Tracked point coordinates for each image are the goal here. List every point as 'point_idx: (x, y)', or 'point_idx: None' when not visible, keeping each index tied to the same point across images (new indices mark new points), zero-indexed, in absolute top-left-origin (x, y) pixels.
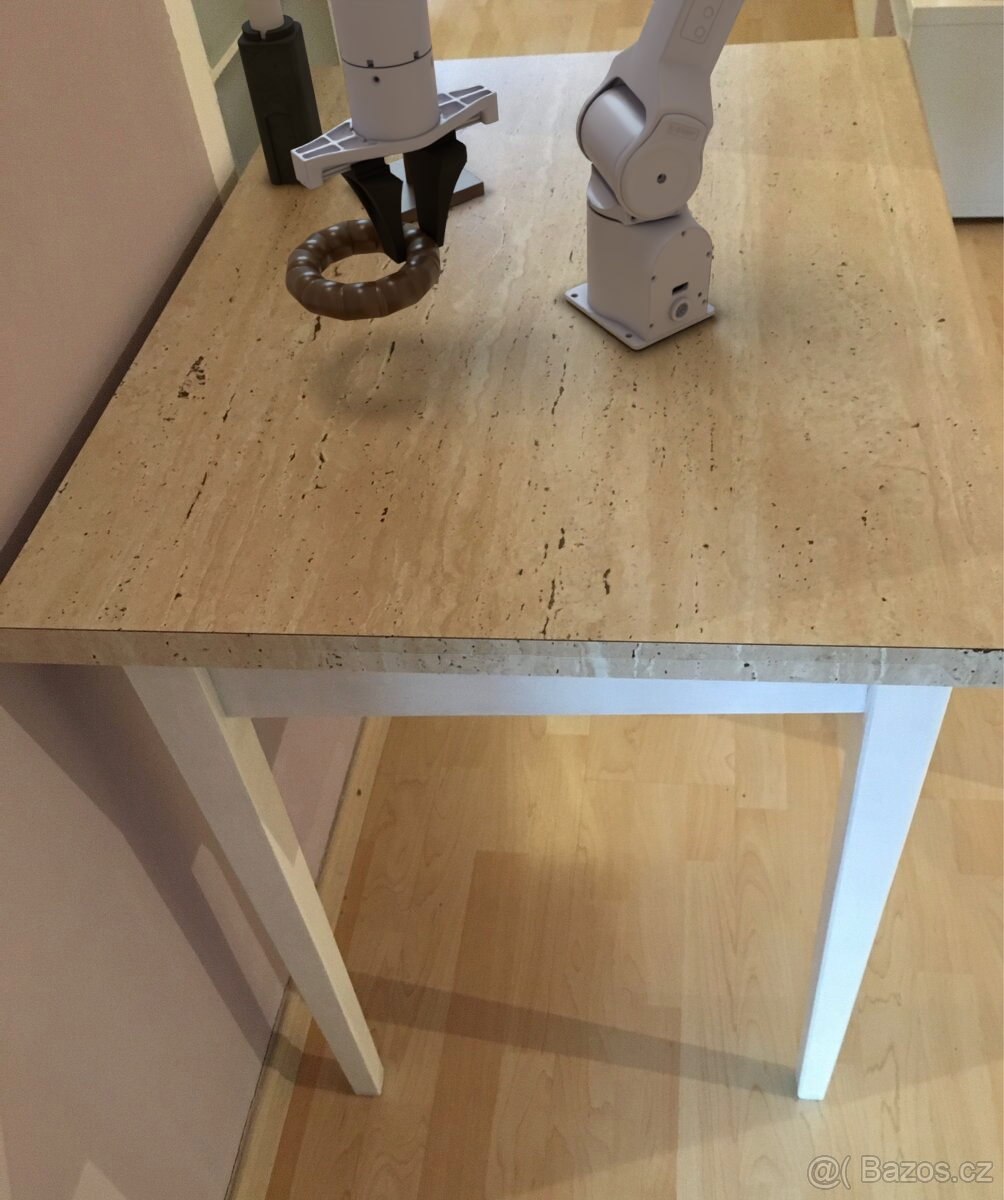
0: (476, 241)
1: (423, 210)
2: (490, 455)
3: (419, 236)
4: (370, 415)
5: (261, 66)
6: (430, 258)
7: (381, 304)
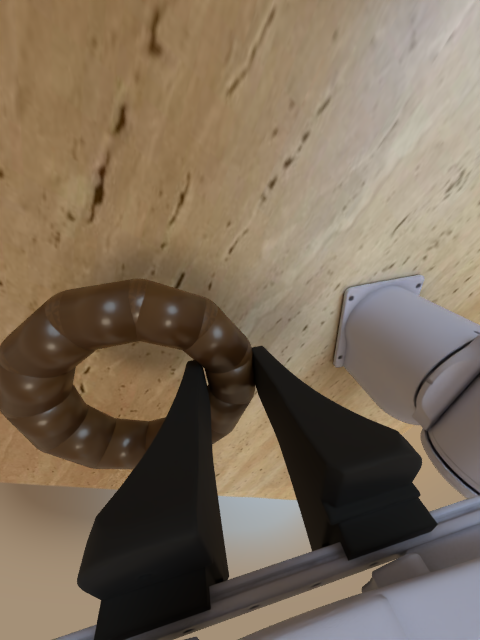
0: (363, 113)
1: (267, 391)
2: None
3: (237, 401)
4: (132, 359)
5: None
6: (228, 433)
7: None
